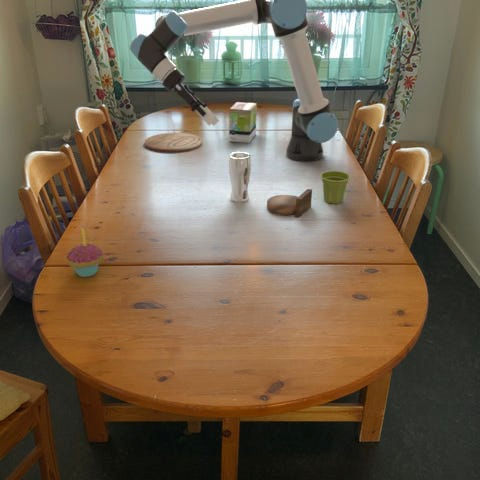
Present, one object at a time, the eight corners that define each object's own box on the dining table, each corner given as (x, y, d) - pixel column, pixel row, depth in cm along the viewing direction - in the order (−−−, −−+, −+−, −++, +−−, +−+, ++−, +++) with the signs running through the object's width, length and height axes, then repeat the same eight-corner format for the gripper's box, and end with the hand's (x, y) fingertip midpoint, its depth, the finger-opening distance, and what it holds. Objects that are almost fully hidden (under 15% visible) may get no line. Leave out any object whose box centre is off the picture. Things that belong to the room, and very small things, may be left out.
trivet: (133, 149, 214) (133, 144, 213) (163, 134, 235) (162, 130, 234) (185, 156, 206) (185, 151, 205) (211, 140, 226) (211, 136, 225)
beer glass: (237, 193, 170) (237, 150, 163) (254, 197, 166) (255, 154, 159) (225, 199, 165) (224, 155, 158) (242, 204, 161) (242, 160, 154)
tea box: (250, 143, 222) (251, 109, 215) (228, 141, 223) (228, 108, 216) (256, 134, 235) (257, 102, 228) (235, 132, 236) (235, 101, 230)
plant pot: (330, 208, 159) (332, 182, 155) (313, 198, 166) (315, 173, 162) (353, 203, 163) (356, 178, 159) (335, 193, 170) (338, 169, 166)
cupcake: (73, 264, 127) (66, 221, 122) (107, 262, 128) (101, 220, 122) (66, 282, 120) (58, 237, 114) (102, 280, 120) (95, 236, 115)
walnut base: (260, 210, 157) (260, 193, 154) (276, 197, 166) (277, 180, 164) (297, 219, 152) (299, 201, 149) (312, 205, 161) (313, 188, 158)
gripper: (169, 87, 178) (210, 130, 181) (153, 80, 154) (201, 131, 157) (183, 71, 177) (225, 115, 180) (170, 62, 153) (218, 113, 155)
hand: (214, 122), depth 168 cm, fingers open, 13 cm apart
